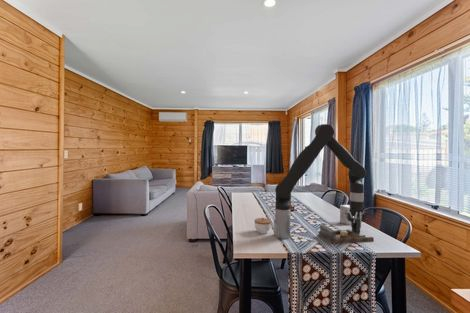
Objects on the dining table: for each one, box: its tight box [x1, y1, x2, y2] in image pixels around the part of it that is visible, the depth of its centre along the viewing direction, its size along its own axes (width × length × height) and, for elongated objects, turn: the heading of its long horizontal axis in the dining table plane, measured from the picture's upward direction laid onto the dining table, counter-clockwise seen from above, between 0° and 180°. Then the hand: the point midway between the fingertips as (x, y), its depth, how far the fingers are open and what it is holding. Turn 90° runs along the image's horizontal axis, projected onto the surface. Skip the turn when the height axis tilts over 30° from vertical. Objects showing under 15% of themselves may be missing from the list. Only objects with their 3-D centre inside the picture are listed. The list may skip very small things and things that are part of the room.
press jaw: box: [346, 218, 366, 238], centre depth 141 cm, size 4×11×11 cm, turn 10°
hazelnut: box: [340, 231, 348, 238], centre depth 140 cm, size 4×4×4 cm
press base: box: [318, 224, 375, 244], centre depth 140 cm, size 26×14×8 cm, turn 100°
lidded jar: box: [254, 217, 272, 235], centre depth 152 cm, size 11×11×9 cm
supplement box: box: [339, 204, 351, 225], centre depth 174 cm, size 7×7×13 cm
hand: (356, 228), depth 141 cm, fingers closed on press jaw, 2 cm apart
